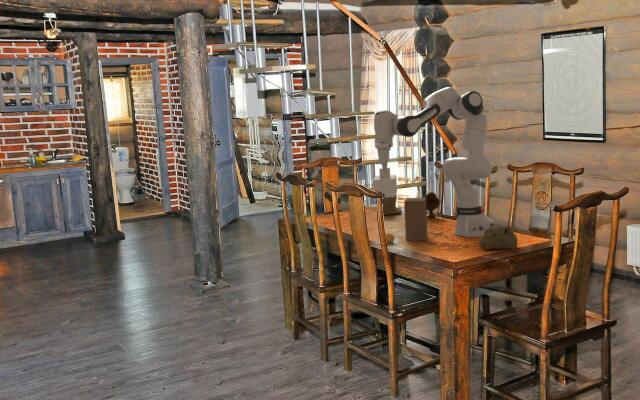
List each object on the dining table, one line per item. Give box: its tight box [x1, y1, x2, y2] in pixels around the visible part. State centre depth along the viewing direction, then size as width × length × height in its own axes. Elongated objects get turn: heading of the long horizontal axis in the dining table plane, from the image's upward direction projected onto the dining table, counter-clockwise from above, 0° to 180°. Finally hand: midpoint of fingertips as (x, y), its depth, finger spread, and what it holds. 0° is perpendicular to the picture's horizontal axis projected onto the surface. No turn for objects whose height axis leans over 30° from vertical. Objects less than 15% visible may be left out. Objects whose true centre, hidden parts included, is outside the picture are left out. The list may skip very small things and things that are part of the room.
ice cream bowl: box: [422, 191, 441, 219], centre depth 400 cm, size 11×11×15 cm
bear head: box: [479, 223, 518, 252], centre depth 320 cm, size 14×18×12 cm
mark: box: [393, 237, 399, 245], centre depth 348 cm, size 10×12×1 cm
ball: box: [384, 232, 395, 242], centre depth 344 cm, size 5×5×5 cm
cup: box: [372, 167, 398, 197], centre depth 343 cm, size 15×10×13 cm
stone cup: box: [382, 193, 402, 216], centre depth 417 cm, size 15×12×15 cm
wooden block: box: [403, 197, 428, 241], centre depth 349 cm, size 10×10×20 cm
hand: (385, 171), depth 342 cm, fingers closed on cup, 3 cm apart
